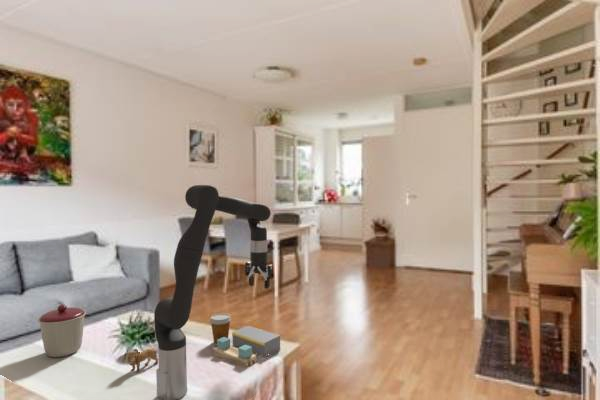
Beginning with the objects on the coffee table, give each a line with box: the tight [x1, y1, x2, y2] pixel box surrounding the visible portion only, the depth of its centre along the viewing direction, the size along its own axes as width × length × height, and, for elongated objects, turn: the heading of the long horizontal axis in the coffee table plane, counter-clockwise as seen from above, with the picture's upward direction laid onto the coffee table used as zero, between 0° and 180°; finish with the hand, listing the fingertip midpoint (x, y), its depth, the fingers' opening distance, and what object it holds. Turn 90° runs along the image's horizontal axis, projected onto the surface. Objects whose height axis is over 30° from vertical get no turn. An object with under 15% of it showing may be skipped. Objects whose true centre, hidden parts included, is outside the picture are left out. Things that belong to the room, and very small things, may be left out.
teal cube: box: [237, 345, 253, 359], centre depth 157 cm, size 4×4×4 cm
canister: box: [37, 304, 87, 358], centre depth 168 cm, size 18×18×21 cm
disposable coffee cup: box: [209, 312, 232, 345], centre depth 177 cm, size 10×10×12 cm
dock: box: [231, 325, 281, 357], centre depth 172 cm, size 10×20×6 cm, turn 52°
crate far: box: [216, 337, 231, 350], centre depth 166 cm, size 4×4×4 cm
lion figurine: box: [125, 348, 159, 373], centre depth 153 cm, size 15×5×9 cm, turn 151°
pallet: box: [212, 345, 257, 368], centre depth 162 cm, size 6×20×3 cm, turn 52°
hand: (259, 287), depth 168 cm, fingers open, 8 cm apart
